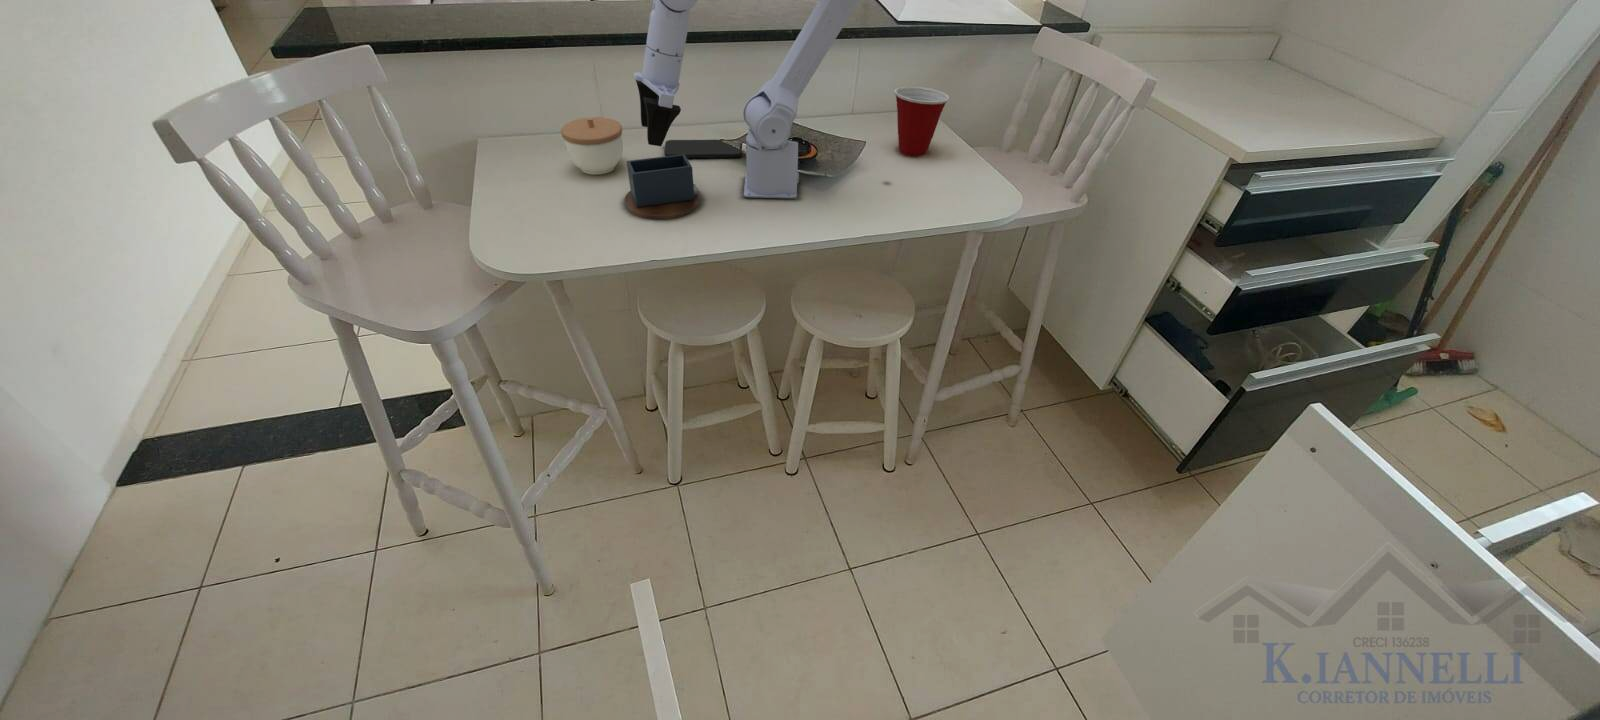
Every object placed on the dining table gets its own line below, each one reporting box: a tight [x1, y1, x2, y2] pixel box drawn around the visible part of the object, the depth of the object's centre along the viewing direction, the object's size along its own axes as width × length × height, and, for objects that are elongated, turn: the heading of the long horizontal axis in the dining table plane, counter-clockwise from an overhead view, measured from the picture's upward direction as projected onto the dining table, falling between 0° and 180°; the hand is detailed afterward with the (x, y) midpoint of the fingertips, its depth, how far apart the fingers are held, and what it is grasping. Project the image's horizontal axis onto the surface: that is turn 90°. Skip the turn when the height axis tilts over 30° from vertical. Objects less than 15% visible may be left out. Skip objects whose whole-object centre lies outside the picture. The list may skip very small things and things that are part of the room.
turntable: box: [624, 190, 701, 220], centre depth 116 cm, size 13×13×1 cm
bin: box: [626, 154, 700, 207], centre depth 114 cm, size 11×5×6 cm, turn 111°
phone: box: [664, 139, 742, 159], centre depth 133 cm, size 7×1×15 cm
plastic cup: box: [894, 86, 950, 158], centre depth 133 cm, size 11×11×12 cm
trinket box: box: [560, 116, 624, 176], centre depth 123 cm, size 11×11×9 cm
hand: (651, 135), depth 109 cm, fingers open, 7 cm apart
